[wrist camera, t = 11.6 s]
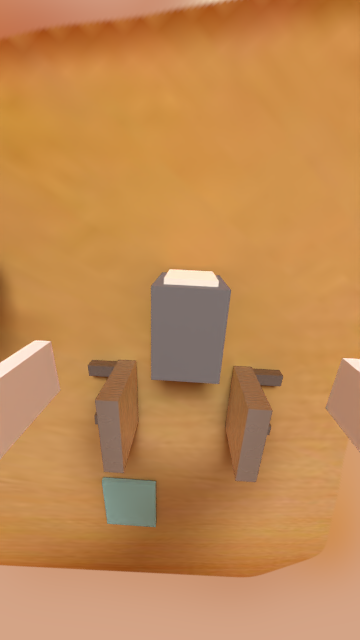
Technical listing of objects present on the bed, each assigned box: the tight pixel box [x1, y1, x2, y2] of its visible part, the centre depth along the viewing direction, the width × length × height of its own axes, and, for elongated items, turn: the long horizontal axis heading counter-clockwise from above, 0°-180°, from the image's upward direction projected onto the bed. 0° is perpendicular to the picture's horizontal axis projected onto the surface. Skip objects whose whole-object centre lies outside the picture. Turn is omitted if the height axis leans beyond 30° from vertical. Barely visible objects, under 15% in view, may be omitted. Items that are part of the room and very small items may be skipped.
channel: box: [88, 360, 283, 482], centre depth 21 cm, size 19×8×6 cm, turn 88°
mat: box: [102, 477, 156, 527], centre depth 30 cm, size 7×9×1 cm
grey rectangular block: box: [151, 269, 231, 384], centre depth 18 cm, size 5×7×6 cm
